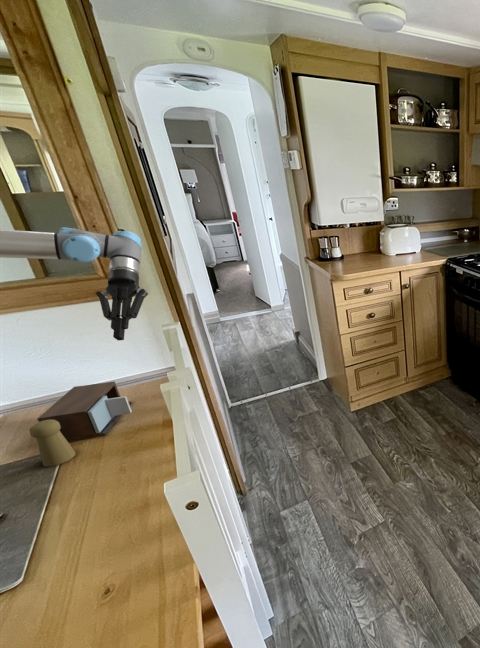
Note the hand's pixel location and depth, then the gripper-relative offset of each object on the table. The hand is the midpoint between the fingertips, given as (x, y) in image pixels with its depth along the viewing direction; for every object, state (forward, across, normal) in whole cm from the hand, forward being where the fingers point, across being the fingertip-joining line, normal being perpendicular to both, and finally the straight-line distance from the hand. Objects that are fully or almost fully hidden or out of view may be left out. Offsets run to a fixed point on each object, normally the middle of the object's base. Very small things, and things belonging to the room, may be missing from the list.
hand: (118, 338), depth 116 cm
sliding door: (+25, +1, -4) cm, 26 cm away
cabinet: (+23, +8, -8) cm, 26 cm away
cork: (+35, +8, +4) cm, 36 cm away
